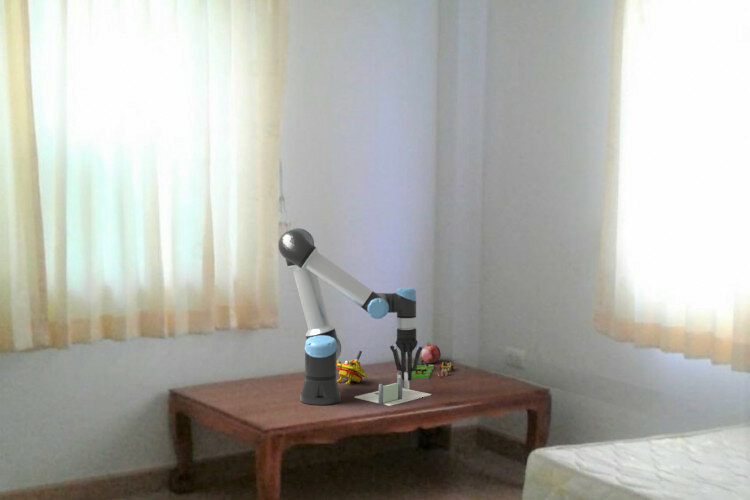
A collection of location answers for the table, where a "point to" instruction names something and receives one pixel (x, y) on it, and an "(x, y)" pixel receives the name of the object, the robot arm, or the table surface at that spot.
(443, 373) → the toy garden set
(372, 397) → the card
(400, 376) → the fence panel
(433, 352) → the fruit
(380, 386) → the fence fixed
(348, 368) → the toy
